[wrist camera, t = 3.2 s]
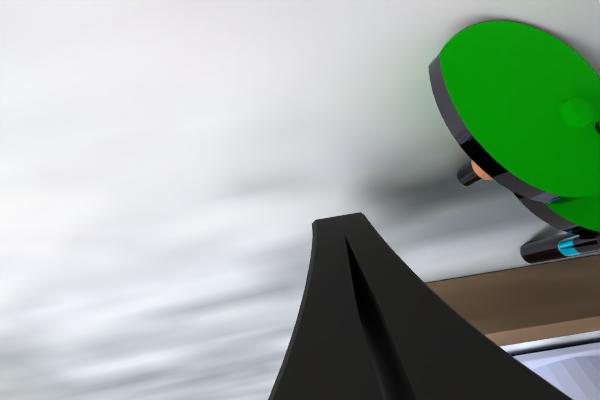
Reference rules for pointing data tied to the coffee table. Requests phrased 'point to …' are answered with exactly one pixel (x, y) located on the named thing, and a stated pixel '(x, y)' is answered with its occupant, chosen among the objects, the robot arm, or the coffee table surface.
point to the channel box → (528, 300)
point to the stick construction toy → (527, 126)
